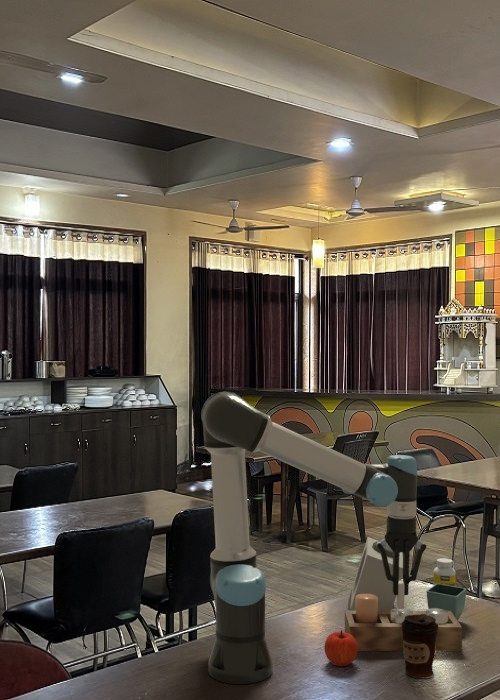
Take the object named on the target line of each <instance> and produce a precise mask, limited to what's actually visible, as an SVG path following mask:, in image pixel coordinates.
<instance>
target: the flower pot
mask: <svg viewBox="0 0 500 700" xmlns="http://www.w3.org/2000/svg"><path fill="white" fill-rule="evenodd" d="M466 598H467V587H466V588H465V587H460V586H456V587H455V586H449V585H444V584H435V585H434V584H433V586H430V587H429V588H428V589H427V590H426V601H427V609H430V608H438V609H443V610H446V611H451V612H452V614H453V615H454V617H455V618H456V619H457V621H458V622H459V619H460V618H461V616H462V614H463V611H464V610H465V604H466Z"/></svg>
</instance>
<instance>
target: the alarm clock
mask: <svg viewBox="0 0 500 700" xmlns="http://www.w3.org/2000/svg"><path fill="white" fill-rule="evenodd" d="M378 541H379V542H380V541H381V540H378V539H375V538H373V537H370V536H367V539H366V541H365V545H364V548H363V551H362V555H361V558H360V561H359V565H358V568H357V571H356V575H355V578H354V581H353V584H352V587H351V591H350V594H349V598H348V601H347V610H351V611H356V595H359V594H372V595H375V596H377V597H378V611H391V610H392V609H395V601H396V600H397V595H394V593H393V582H392V581H389V580H388V579H387V578H386V575H385V571H384V566H383V562H382V557H381V553H380V550H379V548H378V547H377V545H376V542H378ZM385 551H386V555H387V559H388V563H389V568H390V572H391V575H393V551H392V549H391V548H390V546H389V545H388V544H387V543H386V549H385ZM402 580H403V552H400V556H399V581H402Z"/></svg>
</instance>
